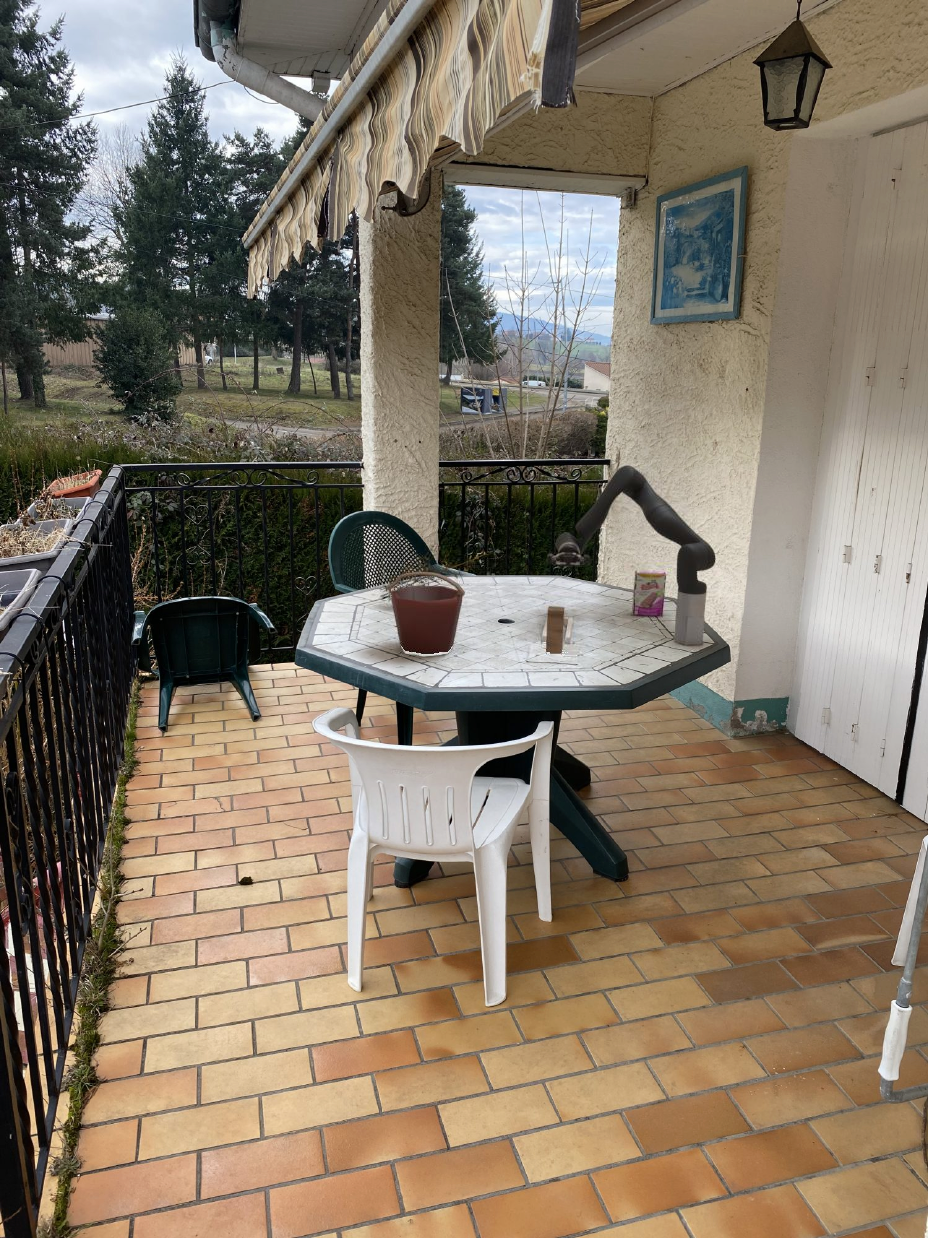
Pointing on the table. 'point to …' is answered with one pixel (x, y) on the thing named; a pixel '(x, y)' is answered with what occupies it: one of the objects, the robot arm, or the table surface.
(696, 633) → the robot arm
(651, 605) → the candy bar box
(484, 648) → the table surface
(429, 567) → the dried plant
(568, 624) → the chute
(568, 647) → the mat
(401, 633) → the bucket
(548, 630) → the walnut block
